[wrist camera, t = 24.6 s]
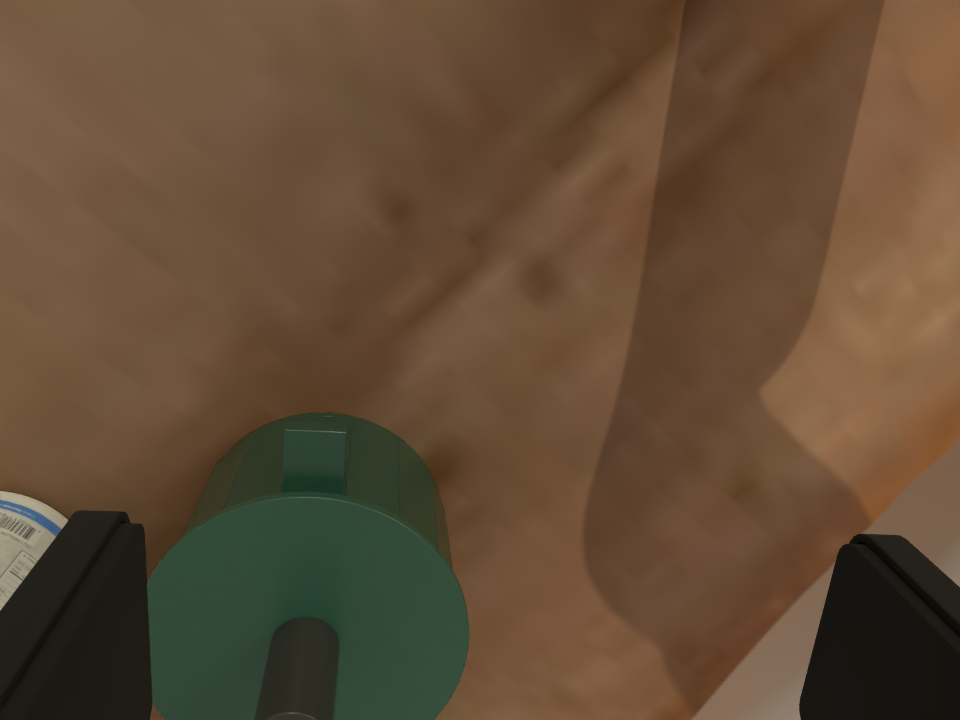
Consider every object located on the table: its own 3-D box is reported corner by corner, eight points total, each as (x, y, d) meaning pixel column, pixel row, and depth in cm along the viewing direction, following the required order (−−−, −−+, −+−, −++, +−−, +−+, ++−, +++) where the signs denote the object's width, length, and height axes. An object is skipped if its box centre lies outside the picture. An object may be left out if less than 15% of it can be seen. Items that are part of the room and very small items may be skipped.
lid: (480, 490, 33) (502, 580, 27) (453, 756, 37) (466, 888, 31) (135, 477, 32) (73, 571, 25) (145, 758, 36) (94, 898, 29)
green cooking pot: (456, 369, 41) (475, 445, 32) (429, 666, 46) (439, 803, 37) (198, 354, 39) (143, 430, 30) (201, 665, 45) (155, 807, 36)
